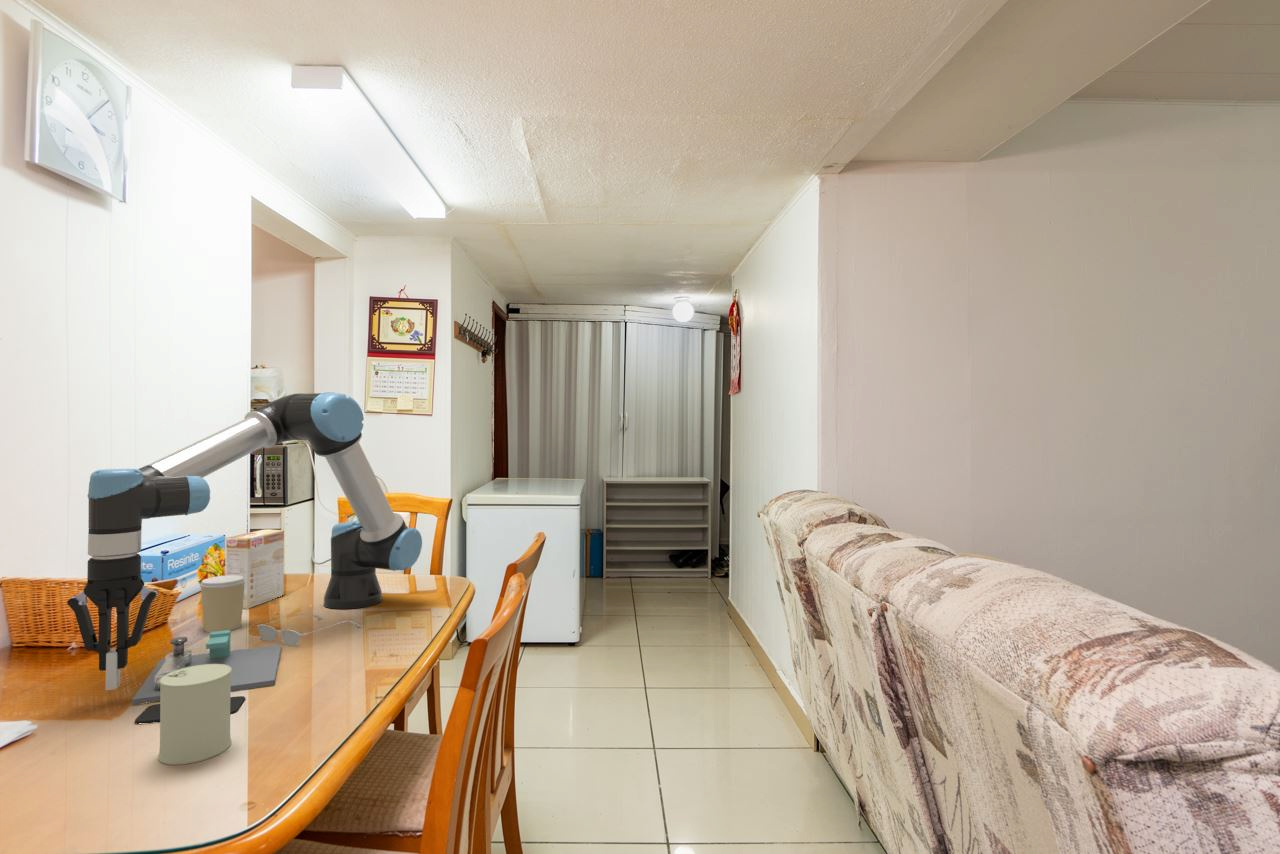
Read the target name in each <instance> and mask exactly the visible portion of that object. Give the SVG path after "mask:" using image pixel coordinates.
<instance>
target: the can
mask: <svg viewBox="0 0 1280 854" xmlns="http://www.w3.org/2000/svg"><path fill="white" fill-rule="evenodd" d="M231 671H232V669H231V667H230V666H228V665H224V664H204V665H197V666H191V667H187V668H183V669H179V670H176V671H173V672H171V673H168V674H166V675H165V676H163V677H162V678H161V679H160V701H159V702H160V703H159V704H160V722H159V727H160V728H159V753H158V756H157V758H158V761H159V762H160V763H161V764H162V763H163V764H165V765H170V766H171V765H172V766H179V765H190V764H194V763H198V762H201V761H206V760H207V759H208V760H209V759H211V758H214V757H216V756H218V755H220V754H222V753H223V752H225V751H226V750H228V748H229V747H230V746H231V744H232V739H231V714H230V697H231V692H232V691H231Z"/></svg>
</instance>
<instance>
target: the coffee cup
mask: <svg viewBox="0 0 1280 854" xmlns="http://www.w3.org/2000/svg"><path fill="white" fill-rule="evenodd" d="M244 583H245V579H244V577H243V576H238V575H227V576H226V575H219V576H212V577H208V578H205V579H203V580H201V582H200V585H199V586H200V589H201V592H200V593H201V597H200V598H201V608H202V609H201V610H202V620H203V621H202V625H203V632H205V631H206V633H211V632H216V631H225V630H231V631H234V630H236V629H239V628H240V627H241V626H242V617H243V609H242V608H243V596H244Z"/></svg>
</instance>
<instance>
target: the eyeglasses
mask: <svg viewBox="0 0 1280 854" xmlns="http://www.w3.org/2000/svg"><path fill="white" fill-rule="evenodd" d="M302 615H303V616H304V615H307V616H312V617H315V618H316V619H317V620H318V621H319V620H323V621H325V620H324V619H325V618H323V617H322V616H320V615H317V614H313V613H307V612H306V613H298V614H294V615H292V616H289V617H284V618H281V619H277V620H275V621H271V622H268V623H265V624H263V623H261V624H258V625H256V628H257V629H258V633H259V636H260V638H261V640H263V641H268V642H274V641H275V639H276V637H278V633H280V634H281V635H280V636H281V639H282V642H283V645H287V646H291V647H297V646H298V644H299V641H300V638H301V637H305V636H308V634H312V633H314V632H318V631H321V630H325V629H327V628H331V627H333V626H336V625H340V624H343V623H352V624H354V626H355V627H356V628H357V629H359V627H360V628H362V625H361V624H359V623H358V622H356V621H353V620H344V621H340V622H338V623H336V624H332V625H329V626H326V627H323V628H320V629H317V630H313V631H310V632H303V633H299V632H298V631H296V630H292V629H282V630H280V629H279V630H277V629H276V628H275V627H273V626H271V625H269V624H271V623H275V622H279V621H282V620H285V619H290V618H292V617H297V616H302Z"/></svg>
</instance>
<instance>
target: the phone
mask: <svg viewBox="0 0 1280 854" xmlns="http://www.w3.org/2000/svg"><path fill="white" fill-rule="evenodd" d="M245 701H246V697H245V696H243V695H238V696H230V715H234V714H236V713H237V712H239V710H240V708H241V707H242V705H243V704H244V703H245ZM153 722H158V723H160V703H155V704H151V705H149V706H147V707H145V709H144V710H143V711H142V712H141V713H140V714H139V715H138V716H137V717H136V718H135V720H134V724H135V723H137V724H136V725H140V724H139V723H149V724H154V723H153Z"/></svg>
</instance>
